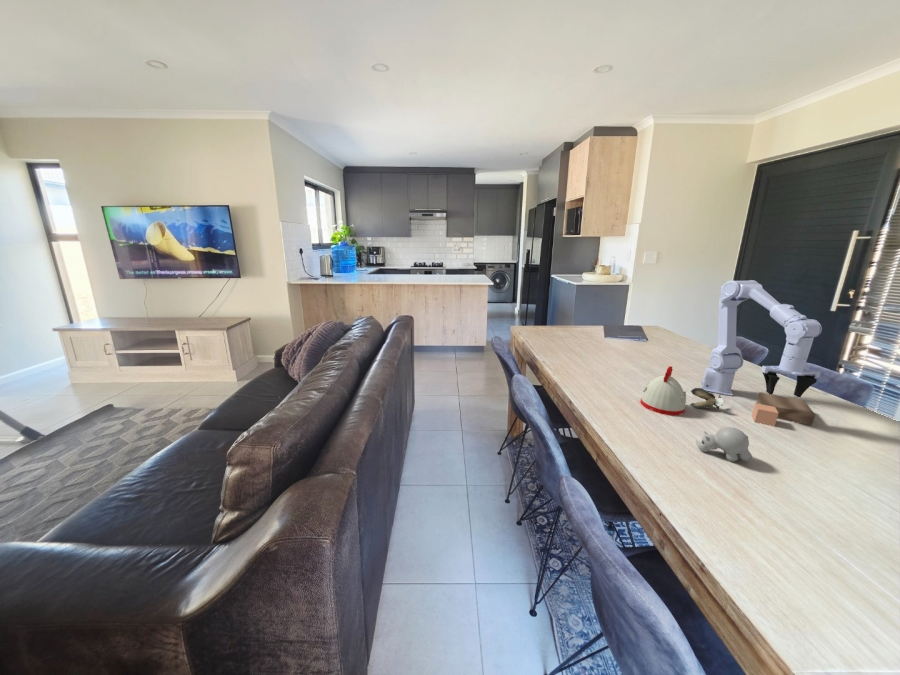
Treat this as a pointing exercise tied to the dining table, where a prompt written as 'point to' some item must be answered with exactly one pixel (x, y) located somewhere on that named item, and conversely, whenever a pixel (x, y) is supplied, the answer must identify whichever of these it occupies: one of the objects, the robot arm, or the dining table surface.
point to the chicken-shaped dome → (664, 395)
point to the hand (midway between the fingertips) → (783, 394)
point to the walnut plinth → (788, 408)
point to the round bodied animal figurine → (727, 443)
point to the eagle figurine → (708, 397)
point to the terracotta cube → (765, 414)
